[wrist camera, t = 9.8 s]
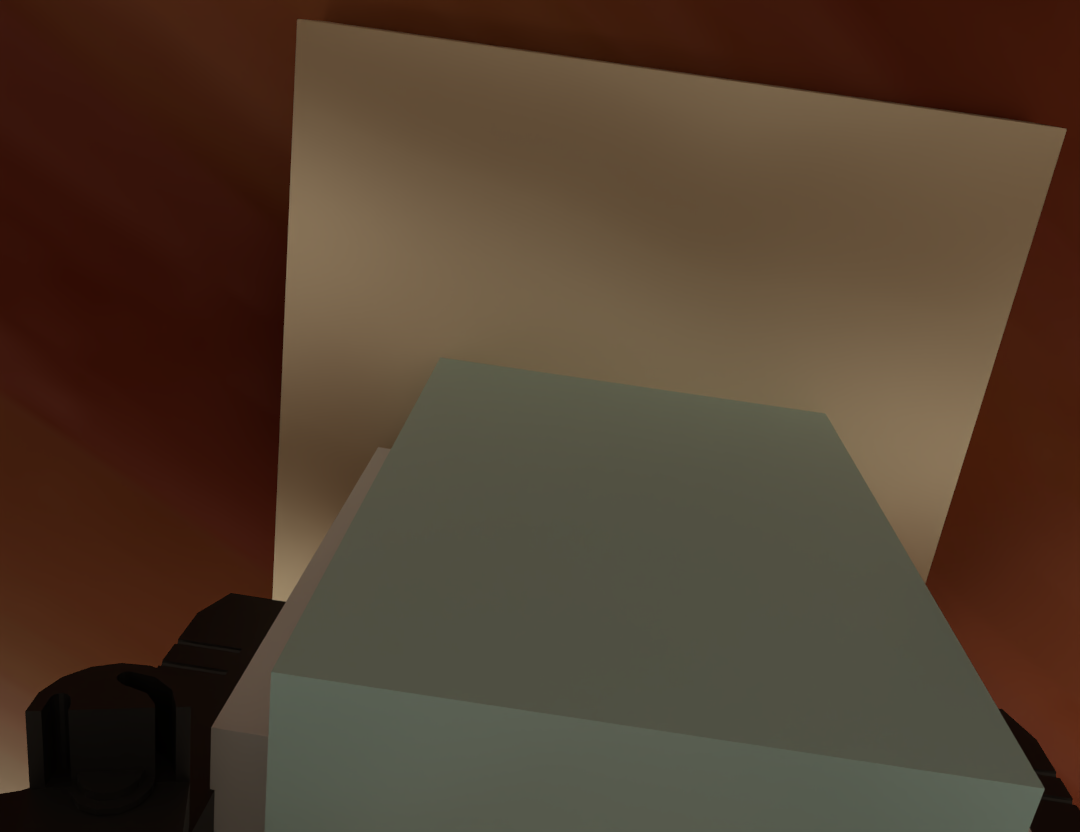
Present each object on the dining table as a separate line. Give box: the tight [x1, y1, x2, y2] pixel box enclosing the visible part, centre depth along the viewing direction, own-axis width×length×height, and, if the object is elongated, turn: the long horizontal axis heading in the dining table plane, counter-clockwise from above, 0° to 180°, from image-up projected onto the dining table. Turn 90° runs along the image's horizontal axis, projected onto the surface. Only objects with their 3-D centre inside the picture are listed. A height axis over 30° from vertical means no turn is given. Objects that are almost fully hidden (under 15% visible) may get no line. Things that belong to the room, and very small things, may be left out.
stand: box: [272, 19, 1067, 602], centre depth 13 cm, size 14×10×7 cm
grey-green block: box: [264, 357, 1045, 832], centre depth 12 cm, size 6×6×8 cm
